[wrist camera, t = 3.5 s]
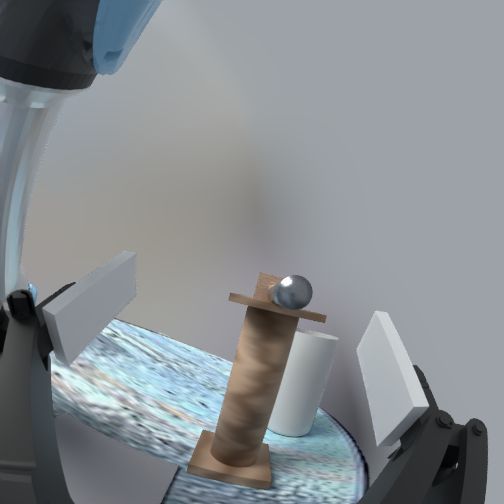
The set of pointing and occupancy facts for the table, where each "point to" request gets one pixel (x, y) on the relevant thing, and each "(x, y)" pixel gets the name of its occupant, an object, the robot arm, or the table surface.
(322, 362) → the cylinder vase
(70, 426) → the rubber mat
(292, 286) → the wooden mallet
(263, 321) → the bobbin stand
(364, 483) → the table surface
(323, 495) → the table surface
